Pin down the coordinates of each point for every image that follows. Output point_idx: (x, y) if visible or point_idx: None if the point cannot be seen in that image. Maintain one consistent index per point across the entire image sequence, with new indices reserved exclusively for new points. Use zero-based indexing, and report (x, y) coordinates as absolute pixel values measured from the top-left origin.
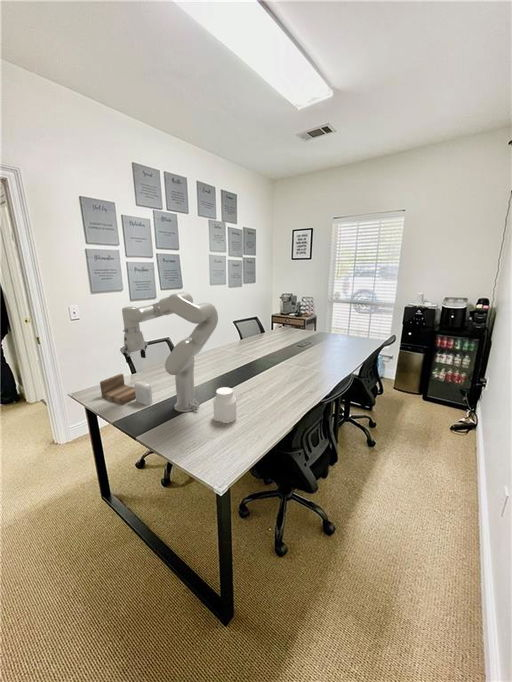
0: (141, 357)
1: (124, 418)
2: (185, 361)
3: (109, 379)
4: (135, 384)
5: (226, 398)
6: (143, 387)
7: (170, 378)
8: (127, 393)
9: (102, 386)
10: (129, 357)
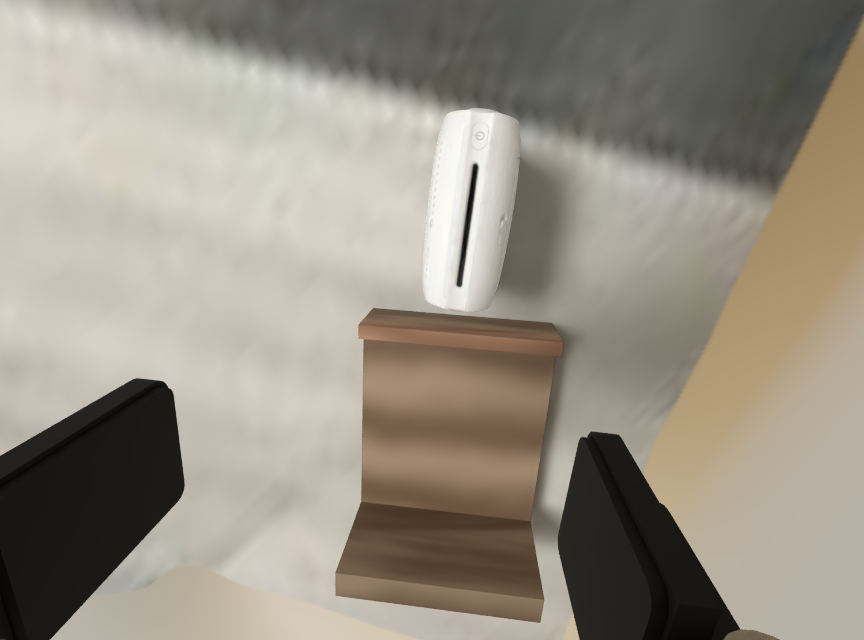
0: (183, 479)
1: (722, 161)
2: None
3: (470, 593)
4: (491, 295)
5: None
6: (518, 155)
7: (76, 319)
8: (462, 384)
9: (537, 570)
10: (691, 571)
